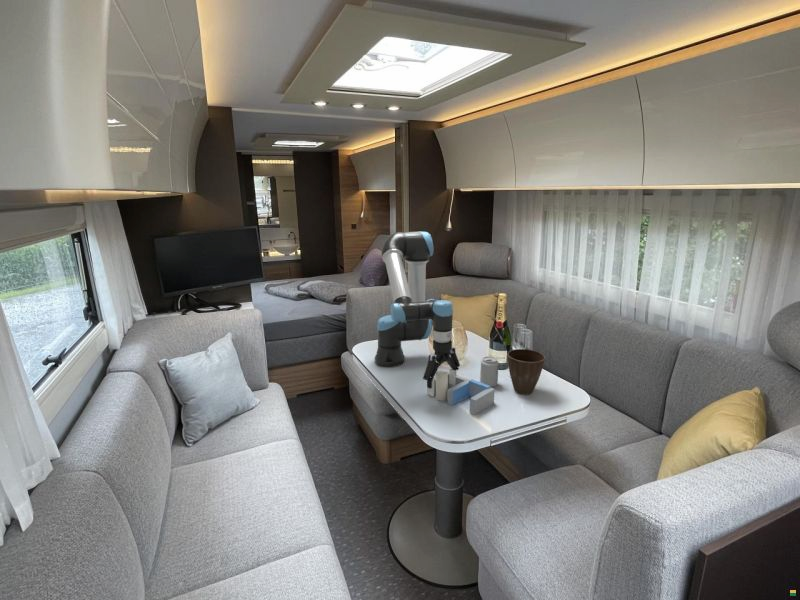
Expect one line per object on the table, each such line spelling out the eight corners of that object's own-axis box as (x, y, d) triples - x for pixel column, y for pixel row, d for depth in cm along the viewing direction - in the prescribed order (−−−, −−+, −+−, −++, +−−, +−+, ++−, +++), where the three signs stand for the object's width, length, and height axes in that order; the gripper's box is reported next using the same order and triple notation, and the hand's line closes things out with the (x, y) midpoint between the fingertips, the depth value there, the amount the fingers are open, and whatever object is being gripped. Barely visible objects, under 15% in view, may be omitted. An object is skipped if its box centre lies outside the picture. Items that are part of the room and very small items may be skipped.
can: (477, 385, 173) (478, 360, 170) (482, 379, 180) (483, 354, 177) (494, 389, 170) (496, 363, 167) (499, 382, 176) (500, 357, 173)
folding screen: (427, 394, 166) (427, 379, 164) (447, 384, 175) (447, 370, 173) (474, 414, 149) (475, 398, 148) (494, 402, 158) (494, 387, 157)
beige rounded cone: (433, 398, 163) (433, 373, 160) (440, 394, 166) (441, 369, 163) (442, 402, 159) (442, 376, 157) (449, 398, 163) (450, 373, 160)
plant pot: (514, 379, 178) (516, 346, 175) (547, 389, 169) (550, 353, 165) (499, 391, 167) (501, 356, 164) (534, 402, 158) (536, 365, 154)
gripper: (428, 350, 145) (428, 402, 150) (469, 334, 162) (467, 382, 167) (413, 345, 151) (414, 396, 156) (454, 330, 168) (453, 377, 172)
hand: (441, 389), depth 161 cm, fingers open, 13 cm apart
